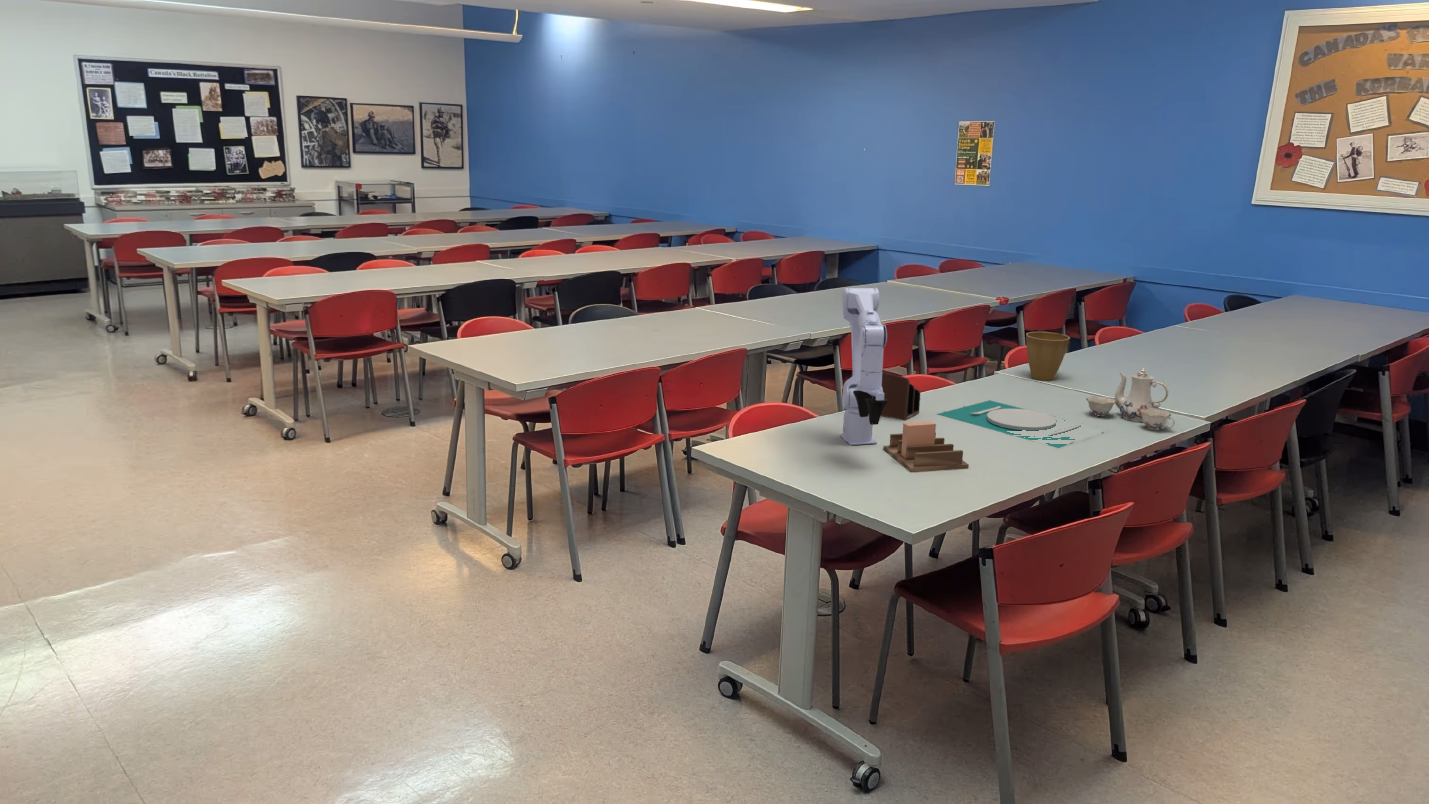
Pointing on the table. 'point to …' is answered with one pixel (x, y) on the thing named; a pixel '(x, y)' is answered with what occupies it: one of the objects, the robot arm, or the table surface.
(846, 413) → the robot arm
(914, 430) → the orange-brown angular block
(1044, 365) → the plant pot
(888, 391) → the letter holder
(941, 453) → the dish rack
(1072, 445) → the table surface
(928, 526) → the table surface
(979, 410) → the place mat
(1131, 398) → the chinaware
